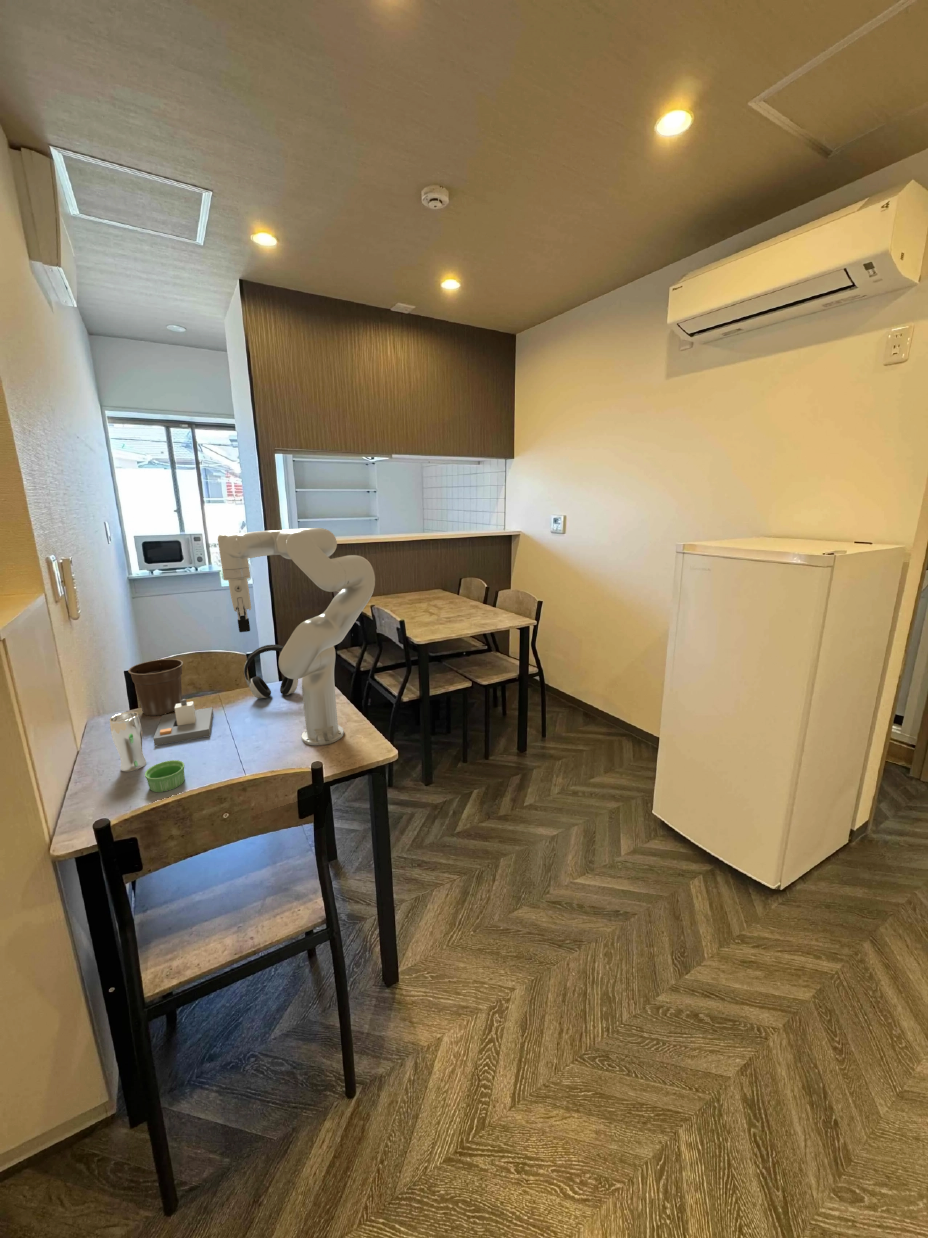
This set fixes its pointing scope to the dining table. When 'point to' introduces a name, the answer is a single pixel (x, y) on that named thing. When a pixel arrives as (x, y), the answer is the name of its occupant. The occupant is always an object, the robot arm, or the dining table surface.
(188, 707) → the plug
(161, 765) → the ramekin
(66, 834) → the dining table surface
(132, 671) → the plant pot
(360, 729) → the dining table surface
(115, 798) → the dining table surface
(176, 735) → the socket
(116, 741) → the beer glass
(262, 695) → the headphones
